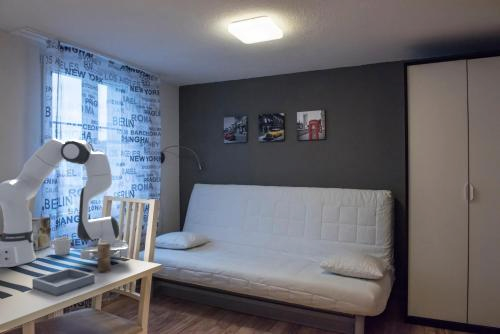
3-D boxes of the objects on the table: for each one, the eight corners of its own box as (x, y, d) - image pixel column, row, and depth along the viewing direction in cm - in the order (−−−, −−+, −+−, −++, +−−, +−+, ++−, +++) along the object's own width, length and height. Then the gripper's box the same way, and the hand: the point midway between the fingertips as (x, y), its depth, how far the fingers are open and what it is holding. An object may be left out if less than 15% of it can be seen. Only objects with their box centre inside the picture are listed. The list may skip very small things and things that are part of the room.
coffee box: (41, 245, 194) (41, 216, 194) (51, 246, 193) (50, 217, 192) (27, 249, 185) (27, 219, 185) (37, 250, 184) (37, 220, 183)
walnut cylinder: (97, 273, 149) (97, 245, 149) (98, 269, 154) (98, 242, 154) (109, 272, 151) (109, 244, 150) (110, 268, 156) (110, 242, 155)
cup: (44, 255, 174) (44, 239, 174) (55, 251, 182) (55, 236, 182) (64, 256, 173) (64, 240, 173) (74, 252, 181) (74, 237, 181)
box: (56, 296, 125) (56, 286, 125) (32, 288, 132) (32, 278, 132) (94, 283, 138) (94, 274, 138) (70, 276, 146) (70, 267, 146)
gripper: (82, 243, 161) (77, 251, 148) (129, 240, 168) (128, 247, 154) (82, 256, 162) (77, 265, 149) (129, 253, 168) (128, 262, 155)
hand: (103, 256), depth 152 cm, fingers open, 8 cm apart
